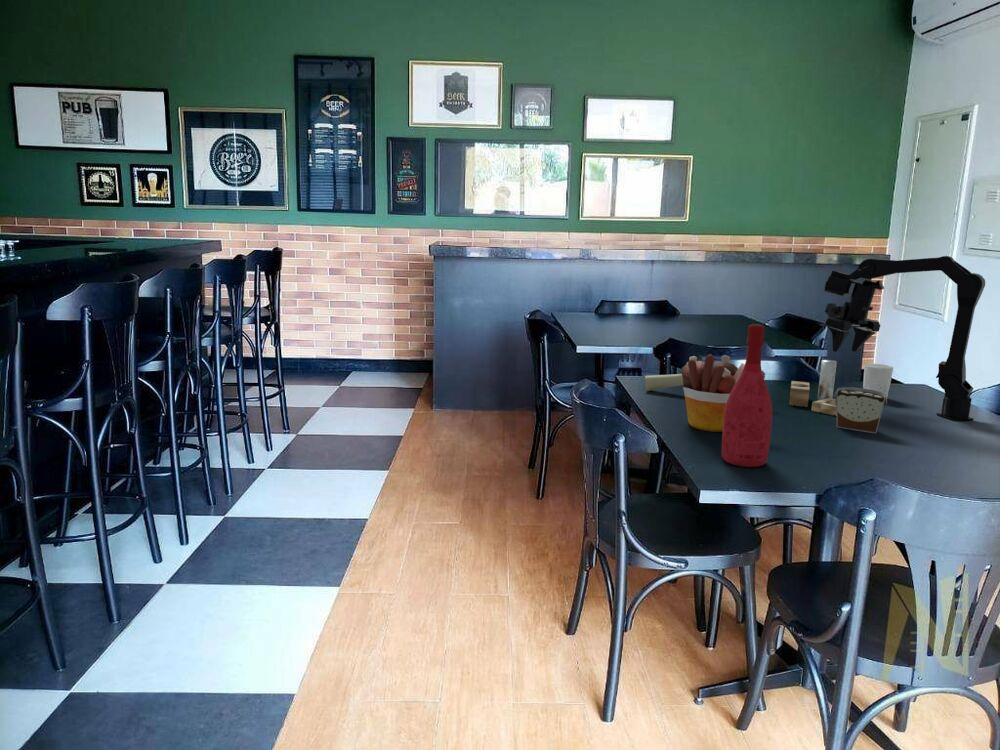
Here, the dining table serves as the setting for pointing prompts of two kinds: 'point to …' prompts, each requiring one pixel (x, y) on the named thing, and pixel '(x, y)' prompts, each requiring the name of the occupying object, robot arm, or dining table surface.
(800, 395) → the beam
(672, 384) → the flower vase
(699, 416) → the bucket of meat
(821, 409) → the v cradle
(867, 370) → the white cup
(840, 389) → the food container
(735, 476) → the dining table surface
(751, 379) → the wine bottle
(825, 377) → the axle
